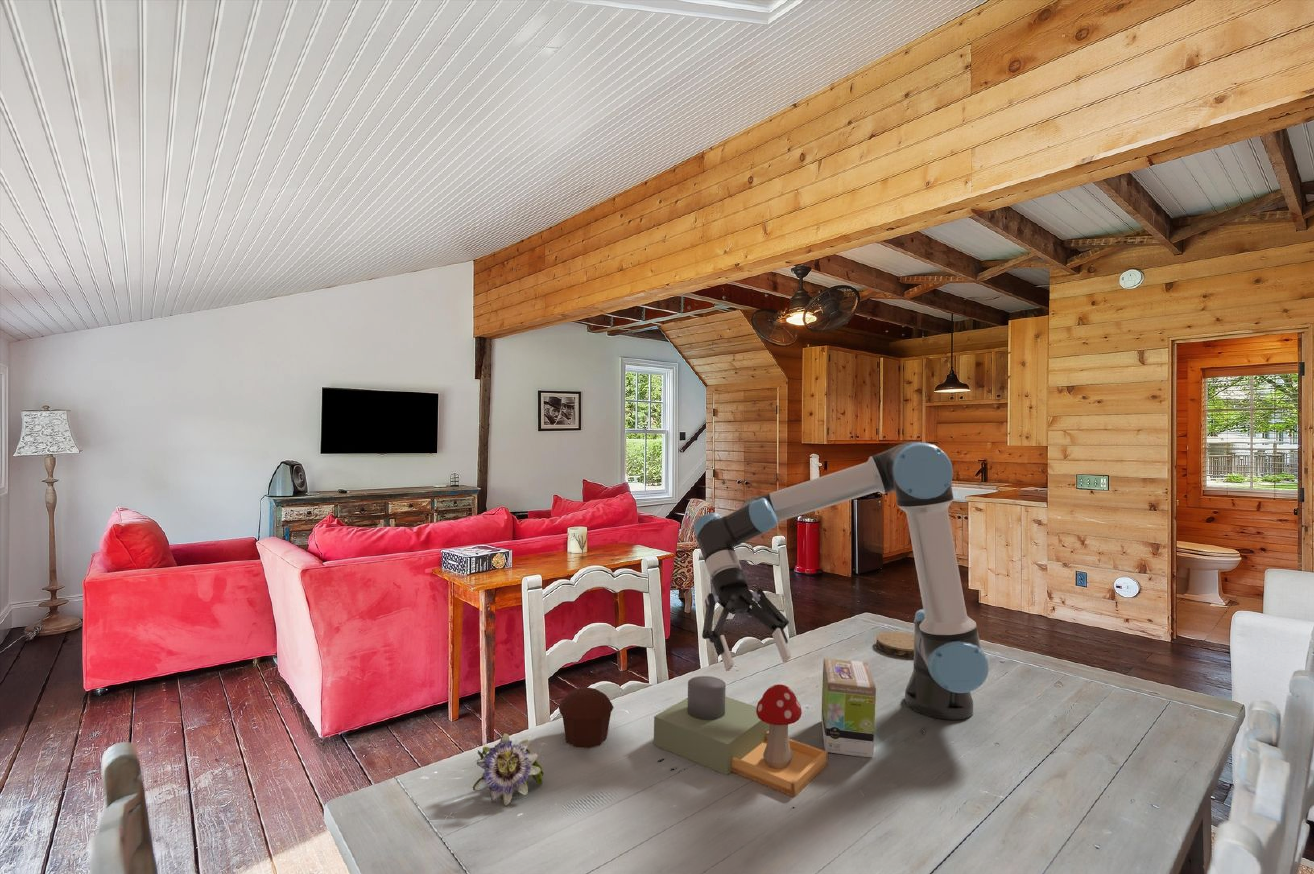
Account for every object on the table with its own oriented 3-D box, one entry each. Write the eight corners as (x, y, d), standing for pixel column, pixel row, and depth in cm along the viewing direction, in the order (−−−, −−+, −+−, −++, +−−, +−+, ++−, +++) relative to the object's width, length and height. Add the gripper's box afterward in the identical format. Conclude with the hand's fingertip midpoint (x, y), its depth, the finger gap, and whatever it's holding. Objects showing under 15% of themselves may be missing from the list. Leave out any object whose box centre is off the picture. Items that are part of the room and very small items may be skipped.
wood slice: (880, 657, 188) (881, 647, 188) (872, 639, 203) (872, 629, 203) (938, 661, 185) (938, 651, 185) (925, 643, 201) (925, 633, 201)
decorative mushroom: (768, 744, 133) (770, 672, 133) (808, 757, 128) (810, 683, 128) (746, 764, 125) (747, 688, 124) (787, 779, 120) (789, 700, 119)
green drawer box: (830, 760, 129) (832, 701, 129) (790, 801, 115) (791, 735, 114) (702, 714, 148) (703, 663, 148) (653, 744, 134) (654, 687, 134)
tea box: (875, 759, 130) (877, 686, 130) (824, 753, 132) (825, 682, 132) (866, 725, 145) (868, 660, 144) (820, 720, 147) (822, 656, 146)
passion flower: (506, 833, 113) (469, 794, 108) (493, 790, 122) (458, 752, 118) (560, 788, 116) (525, 748, 111) (543, 750, 125) (511, 711, 120)
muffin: (622, 732, 139) (623, 686, 139) (596, 756, 129) (597, 707, 129) (575, 720, 144) (576, 676, 144) (547, 743, 134) (548, 695, 134)
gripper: (767, 579, 154) (802, 663, 140) (671, 588, 145) (699, 679, 131) (779, 562, 149) (817, 648, 135) (681, 570, 139) (711, 663, 126)
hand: (759, 663), depth 133 cm, fingers open, 13 cm apart
